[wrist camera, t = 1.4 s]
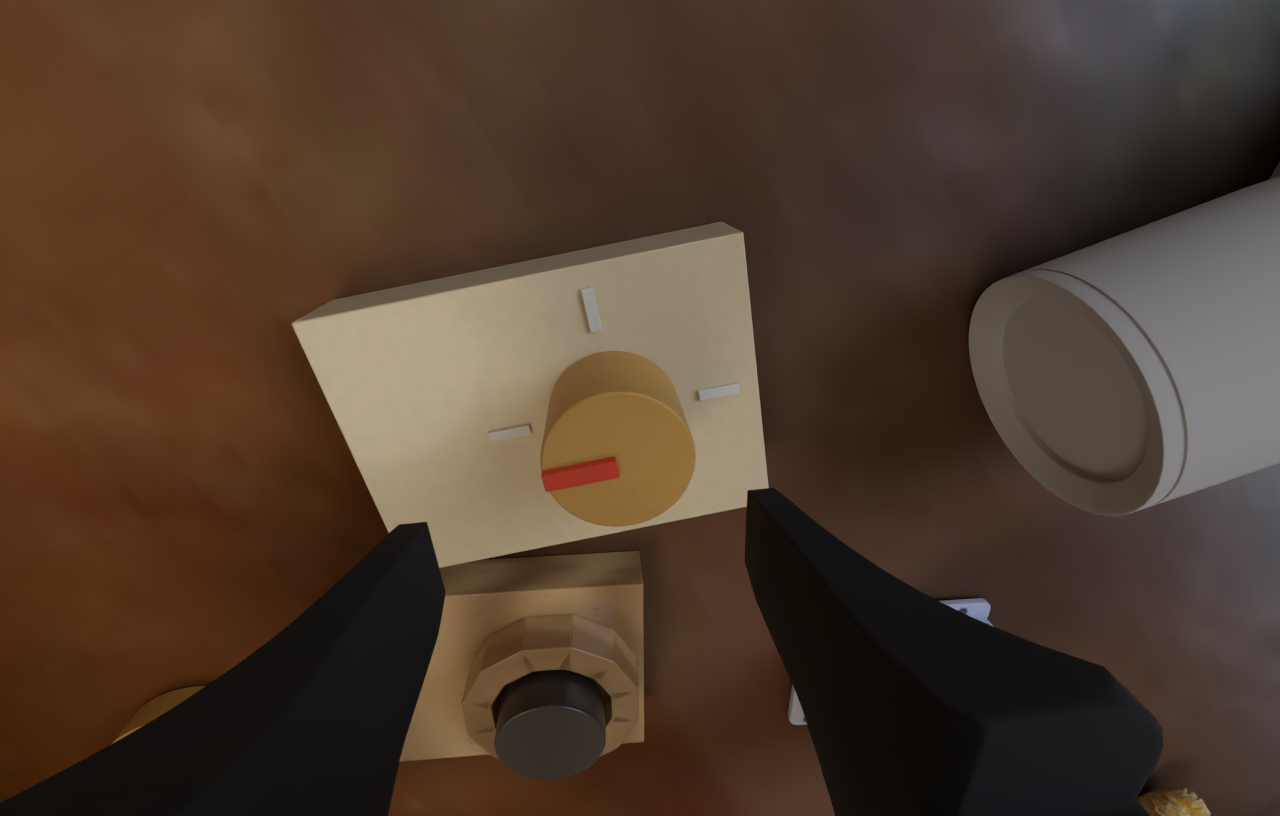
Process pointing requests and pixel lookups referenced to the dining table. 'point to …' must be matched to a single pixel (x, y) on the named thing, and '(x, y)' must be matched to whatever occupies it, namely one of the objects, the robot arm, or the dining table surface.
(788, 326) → the dining table surface
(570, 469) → the dimmer knob
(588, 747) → the button
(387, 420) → the dimmer panel
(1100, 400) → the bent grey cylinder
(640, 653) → the switch box
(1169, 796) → the croissant
